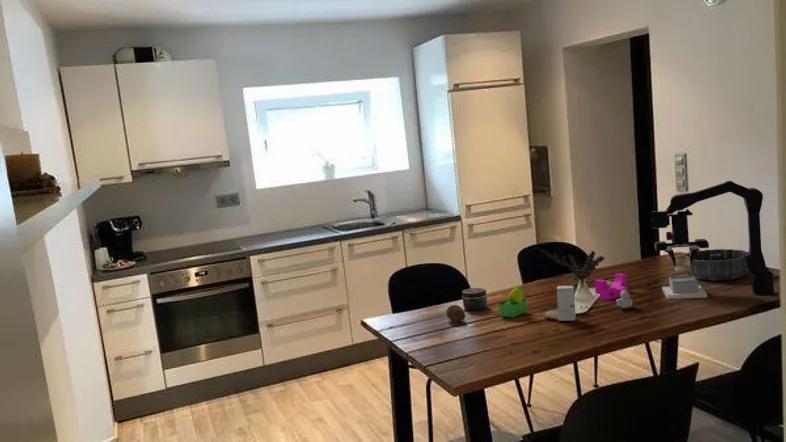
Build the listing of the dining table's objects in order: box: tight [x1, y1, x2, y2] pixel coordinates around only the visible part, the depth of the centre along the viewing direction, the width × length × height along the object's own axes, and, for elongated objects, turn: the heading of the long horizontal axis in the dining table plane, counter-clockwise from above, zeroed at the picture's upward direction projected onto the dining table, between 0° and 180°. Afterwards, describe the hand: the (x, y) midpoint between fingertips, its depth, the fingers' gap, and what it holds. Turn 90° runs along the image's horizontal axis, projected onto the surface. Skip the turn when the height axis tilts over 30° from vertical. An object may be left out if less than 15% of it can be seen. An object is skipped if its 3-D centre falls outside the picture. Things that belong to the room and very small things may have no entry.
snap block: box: [674, 254, 691, 272], centre depth 244 cm, size 5×5×6 cm
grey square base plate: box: [661, 275, 708, 300], centre depth 245 cm, size 14×14×6 cm
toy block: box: [594, 273, 628, 301], centre depth 255 cm, size 15×6×8 cm, turn 123°
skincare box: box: [556, 285, 577, 322], centre depth 228 cm, size 6×4×12 cm
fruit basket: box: [496, 285, 529, 319], centre depth 243 cm, size 11×9×11 cm
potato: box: [446, 304, 466, 323], centre depth 243 cm, size 7×10×6 cm
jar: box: [461, 287, 488, 312], centre depth 258 cm, size 10×10×8 cm
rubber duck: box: [615, 289, 633, 309], centre depth 235 cm, size 5×7×8 cm
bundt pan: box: [683, 248, 749, 282], centre depth 266 cm, size 26×26×10 cm
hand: (682, 266), depth 245 cm, fingers closed on snap block, 5 cm apart
